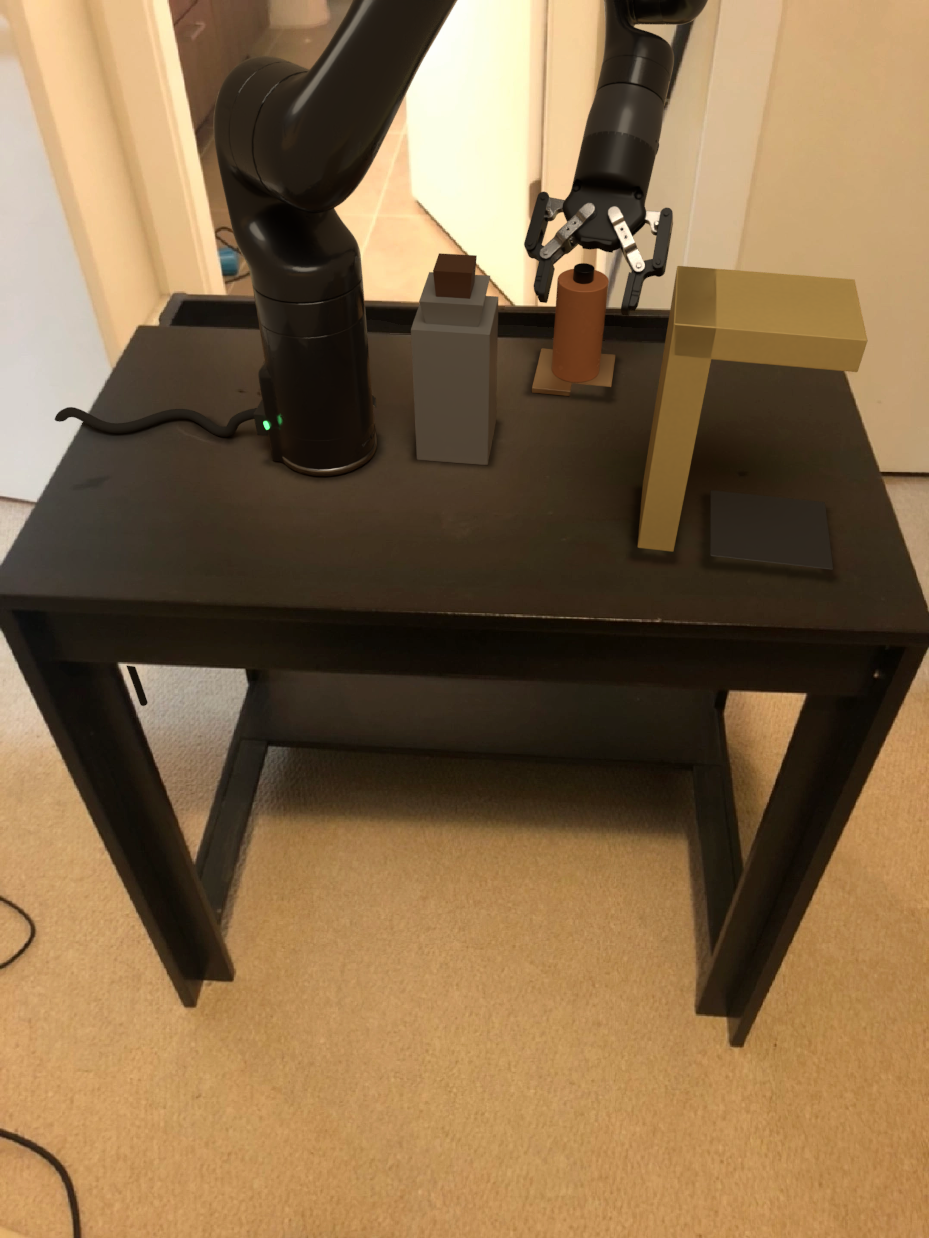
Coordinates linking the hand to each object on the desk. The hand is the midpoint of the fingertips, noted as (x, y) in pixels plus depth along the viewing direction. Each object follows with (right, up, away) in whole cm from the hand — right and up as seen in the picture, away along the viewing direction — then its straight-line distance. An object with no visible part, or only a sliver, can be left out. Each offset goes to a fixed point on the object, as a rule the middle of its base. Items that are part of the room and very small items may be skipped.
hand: (583, 306), depth 99 cm
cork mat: (0, -6, +5) cm, 7 cm away
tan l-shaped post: (+11, -24, -13) cm, 30 cm away
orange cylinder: (0, -5, +4) cm, 7 cm away
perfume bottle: (-13, -14, -4) cm, 20 cm away
